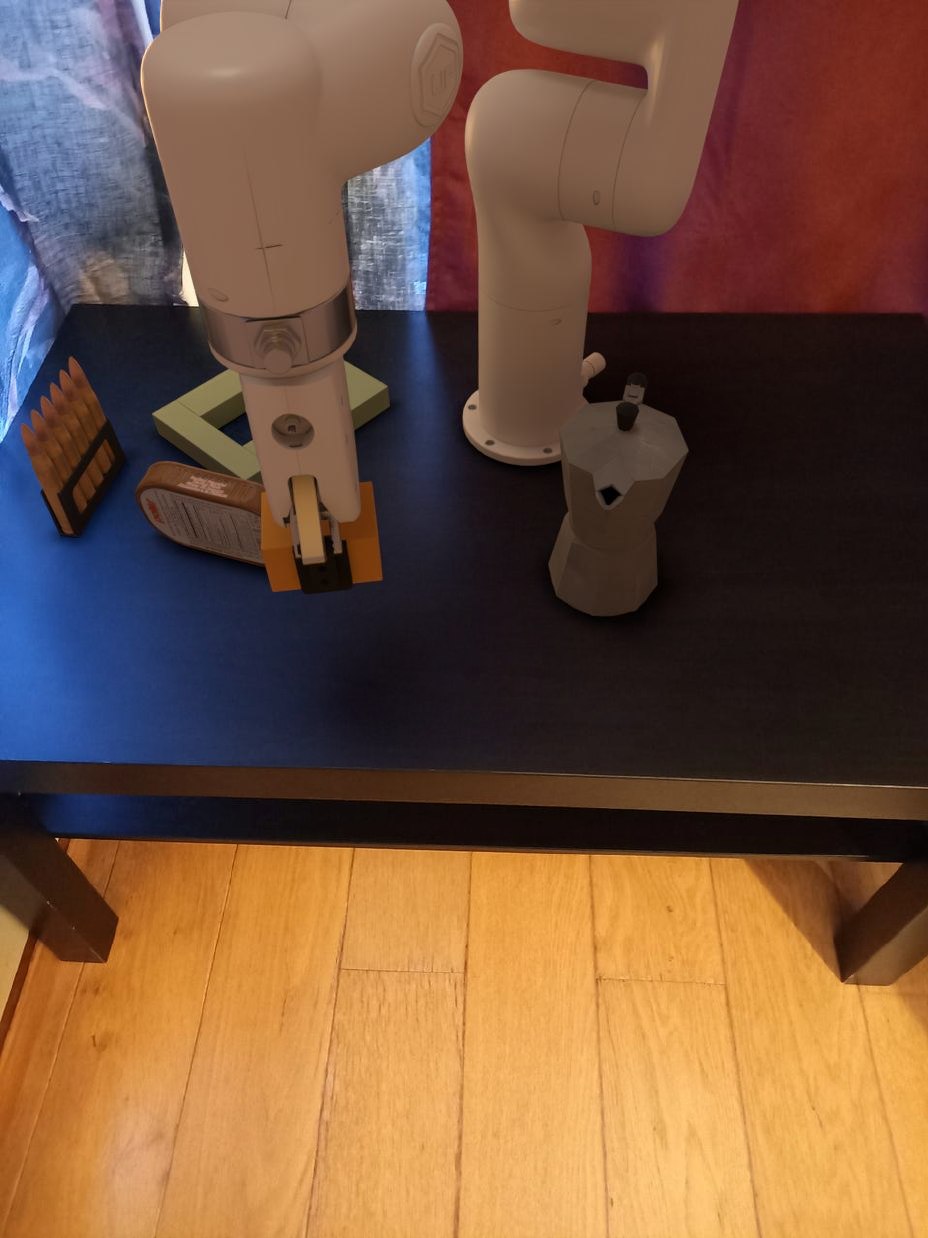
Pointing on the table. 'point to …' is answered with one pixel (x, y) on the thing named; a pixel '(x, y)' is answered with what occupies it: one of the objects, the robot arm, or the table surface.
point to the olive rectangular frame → (222, 401)
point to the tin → (204, 510)
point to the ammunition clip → (72, 451)
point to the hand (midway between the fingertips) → (325, 553)
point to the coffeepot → (614, 501)
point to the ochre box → (356, 534)
